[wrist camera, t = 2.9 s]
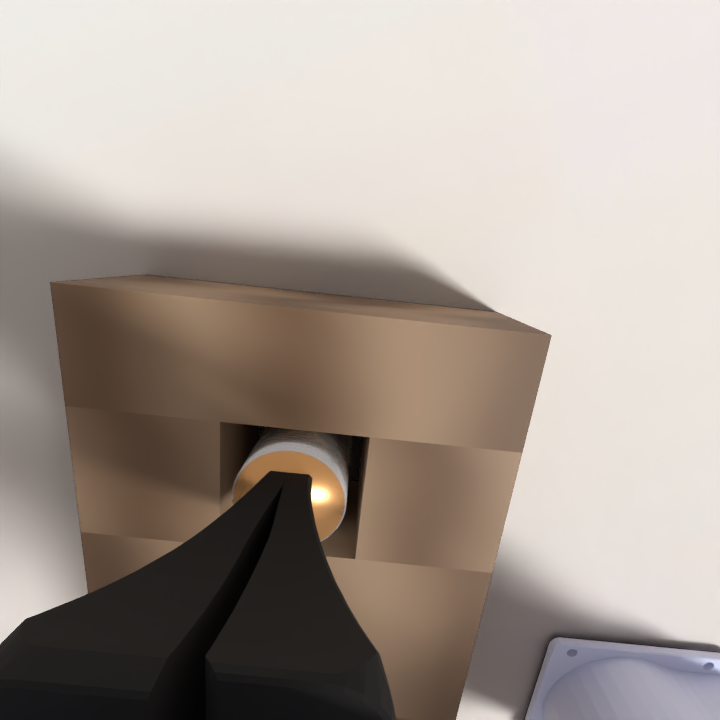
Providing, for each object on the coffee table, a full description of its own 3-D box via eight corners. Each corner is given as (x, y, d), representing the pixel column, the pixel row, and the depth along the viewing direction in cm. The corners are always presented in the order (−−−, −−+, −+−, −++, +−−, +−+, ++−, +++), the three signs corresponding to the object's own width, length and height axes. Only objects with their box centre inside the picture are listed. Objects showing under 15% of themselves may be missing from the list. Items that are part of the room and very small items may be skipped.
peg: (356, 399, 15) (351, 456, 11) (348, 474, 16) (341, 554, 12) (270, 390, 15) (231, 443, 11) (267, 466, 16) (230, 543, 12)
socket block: (497, 311, 15) (551, 335, 10) (411, 727, 21) (423, 848, 17) (144, 274, 15) (49, 282, 10) (167, 704, 21) (116, 820, 17)
